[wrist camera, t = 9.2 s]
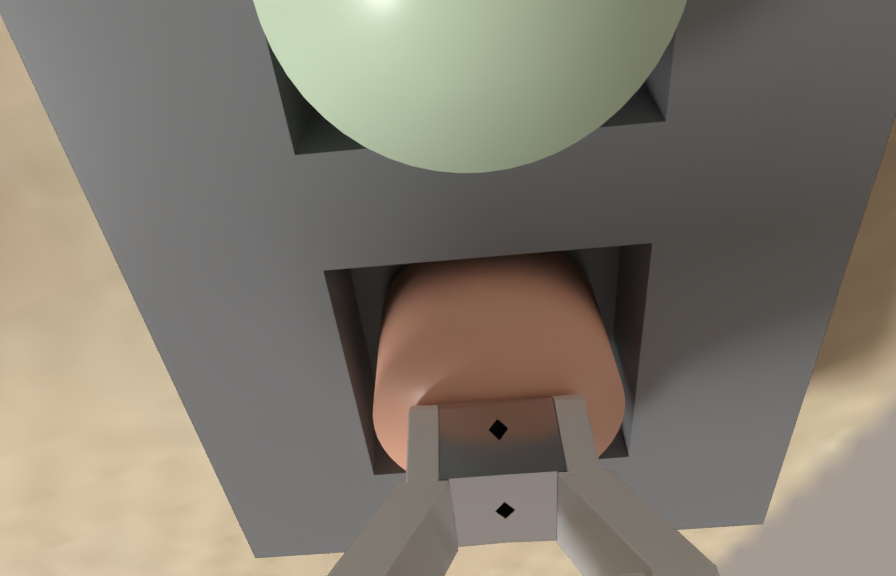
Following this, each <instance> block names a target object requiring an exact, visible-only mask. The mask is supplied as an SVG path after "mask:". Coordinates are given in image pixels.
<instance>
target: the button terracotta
mask: <svg viewBox="0 0 896 576" xmlns="http://www.w3.org/2000/svg"><path fill="white" fill-rule="evenodd" d="M570 394H581V395H582V396H583V397H584V400H585V404H586V408H587V413H588V417H589V421H590V425H591V429H592V433H593V437H594V441H595V445H596V449H597V454H598V457H599V456H600V455H601V454H602V453H603V452H604V451H605V450H606V449H607V447H608V446H609V445H610V444H611V442H612V441H613V439H614V438H615V436H616V434H617V433H618V431H619V428H620V426H621V423H622V421H623V416H624V411H625V395H624V390H623V385H622V382H621V378H620V375H619V372H618V369H617V365H616V362H615V359H614V356H613V352H612V349H611V346H610V343H609V340H608V336H607V333H606V330H605V327H604V323H603V320H602V317H601V314H600V310H599V307H598V304H597V301H596V297H595V294H594V291H593V289H592V286H591V283H590V281H589V279H588V278H587V276H586V275H585V273H584V271H583V270H582V269H581V268H580V267H579V265H578V264H577V263H576V262H575V261H574V260H573V259H572V258H570V257H569V256H568V255H567V254H566V253H564V252H563V251H552V252H540V253H528V254H516V255H504V256H492V257H480V258H468V259H456V260H444V261H432V262H420V263H408V264H407V265H406V266H405V267H404V268H403V269H402V270H401V271H400V273H399V274H398V275H397V276H396V277H395V279H394V281H393V282H392V284H391V286H390V287H389V289H388V292H387V294H386V297H385V300H384V304H383V308H382V317H381V328H380V338H379V349H378V360H377V371H376V381H375V392H374V403H373V423H374V428H375V431H376V434H377V437H378V439H379V441H380V443H381V445H382V447H383V448H384V450H385V451H386V452H387V454H388V455H389V456H390V457H391V458H392V459H393V460H394V461H395V462H396V463H397V464H398V465H399V466H400V467H402V468H403V469H404V470H406V464H407V439H408V414H409V410H410V406H419V405H439V404H450V403H470V402H491V401H496V400H508V399H520V398H532V397H544V396H551V397H552V396H558V395H570Z"/></svg>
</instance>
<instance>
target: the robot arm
mask: <svg viewBox="0 0 896 576" xmlns="http://www.w3.org/2000/svg"><path fill="white" fill-rule="evenodd" d="M532 541H557V544H558V545H559V546H560V547H561V549H562V550H563V551H564V552H565V554H566V555H567V556H568V558H569V559H570V560H571V561H572V563H573V564H574V565H575V566H576V568H577V569H578V570H579V571H580V573H581V574H582V575H583V576H720V575H719V573H718V570H717V567H716V566H715V565H714V564H713V563H712V562H711V561H710V560H709V559H708V558H707V557H706V556H705V555H703V554H702V553H701V552H700V551H699V550H698V549H697V548H696V547H695V546H694V545H693V544H691V543H690V542H689V541H688V540H687V539H686V538H685V537H684V536H683V535H682V534H680V533H679V532H678V531H677V530H676V529H675V528H674V527H673V526H672V525H671V524H670V523H668V522H667V521H666V520H665V519H664V518H663V517H662V516H661V515H660V514H659V513H657V512H656V511H655V510H654V509H653V508H652V507H651V506H650V505H649V504H648V503H647V502H645V501H644V500H643V499H642V498H641V497H640V496H639V495H638V494H637V493H636V492H635V491H633V490H632V489H631V488H630V487H629V486H628V485H627V484H626V483H625V482H624V481H622V480H621V479H620V478H619V477H618V476H617V475H616V474H615V473H614V472H613V471H612V470H610V469H603V470H601V466H600V462H599V458H598V454H597V449H596V445H595V441H594V437H593V433H592V429H591V425H590V421H589V417H588V413H587V408H586V404H585V400H584V397H583V396H582V395H581V394H570V395H558V396H552V397H551V396H544V397H532V398H520V399H508V400H496V401H491V402H470V403H450V404H439V405H419V406H410V410H409V414H408V439H407V464H406V483H402V484H397V485H396V486H395V488H394V489H393V490H392V492H391V493H390V494H389V496H388V497H387V498H386V499H385V501H384V502H383V503H382V505H381V506H380V507H379V509H378V510H377V511H376V513H375V514H374V515H373V516H372V518H371V519H370V520H369V522H368V523H367V524H366V526H365V527H364V528H363V530H362V531H361V532H360V533H359V535H358V536H357V537H356V539H355V540H354V541H353V543H352V544H351V545H350V547H349V548H348V549H347V550H346V552H345V553H344V554H343V556H342V557H341V558H340V560H339V561H338V562H337V564H336V565H335V566H334V567H333V569H332V570H331V571H330V573H329V574H328V575H327V576H445V574H446V572H447V570H448V568H449V566H450V564H451V563H452V561H453V559H454V557H455V555H456V553H457V552H458V547H464V546H474V545H485V544H496V543H506V542H532Z"/></svg>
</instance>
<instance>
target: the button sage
mask: <svg viewBox="0 0 896 576" xmlns="http://www.w3.org/2000/svg"><path fill="white" fill-rule="evenodd" d="M253 2H254V5H255V8H256V11H257V15H258V18H259V21H260V24H261V26H262V28H263V31H264V33H265V35H266V37H267V40H268V42H269V44H270V46H271V49H272V51H273V52H274V54H275V56H276V57H277V59H278V61H279V62H280V64H281V66H282V68H283V69H284V71H285V73H286V74H287V76H288V77H289V78H290V80H291V81H292V82H293V84H294V85H295V86H296V88H297V89H298V90H299V91H300V93H301V94H302V95H303V97H304V98H305V99H306V100H307V101H308V102H309V103H310V104H311V105H312V106H313V107H314V108H315V109H316V110H317V111H318V112H319V113H320V114H321V115H322V116H323V117H324V118H325V119H326V120H327V121H329V122H330V123H331V124H332V125H334V126H335V127H336V128H337V129H339V130H340V131H341V132H342V133H344V134H345V135H347V136H348V137H350V138H351V139H353V140H355V141H356V142H358V143H359V144H361V145H363V146H364V147H366V148H368V149H370V150H372V151H374V152H376V153H378V154H381V155H383V156H385V157H387V158H389V159H392V160H395V161H398V162H401V163H404V164H407V165H410V166H414V167H419V168H424V169H428V170H433V171H441V172H452V173H484V172H491V171H498V170H505V169H510V168H514V167H518V166H522V165H525V164H529V163H533V162H535V161H538V160H540V159H543V158H545V157H548V156H550V155H553V154H555V153H558V152H559V151H561V150H563V149H565V148H567V147H569V146H571V145H573V144H574V143H576V142H578V141H580V140H581V139H583V138H584V137H586V136H587V135H588V134H590V133H591V132H593V131H594V130H596V129H597V128H599V127H600V126H601V125H603V124H604V123H605V122H606V121H607V120H608V119H609V118H611V117H612V116H613V115H614V114H615V113H616V112H617V111H619V110H620V109H621V108H622V107H623V106H624V105H625V104H626V102H627V101H628V100H629V99H630V98H631V97H632V96H633V95H634V94H635V93H636V92H637V90H638V89H639V88H640V87H641V86H642V84H643V83H644V82H645V80H646V79H647V77H648V76H649V75H650V73H651V72H652V71H653V69H654V68H655V67H656V65H657V64H658V62H659V60H660V58H661V57H662V55H663V53H664V51H665V50H666V48H667V46H668V44H669V43H670V41H671V39H672V37H673V35H674V32H675V30H676V28H677V25H678V23H679V21H680V18H681V16H682V14H683V11H684V8H685V5H686V2H687V0H253Z"/></svg>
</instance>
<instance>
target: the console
mask: <svg viewBox="0 0 896 576" xmlns="http://www.w3.org/2000/svg"><path fill="white" fill-rule="evenodd" d="M0 14H1V16H2V19H3V21H4V23H5V25H6V27H7V29H8V31H9V34H10V36H11V38H12V40H13V42H14V44H15V46H16V48H17V51H18V53H19V55H20V57H21V59H22V61H23V63H24V66H25V68H26V70H27V72H28V74H29V76H30V78H31V80H32V83H33V85H34V87H35V89H36V91H37V93H38V95H39V97H40V100H41V102H42V104H43V106H44V108H45V110H46V112H47V115H48V117H49V119H50V121H51V123H52V125H53V127H54V129H55V132H56V134H57V136H58V138H59V140H60V142H61V144H62V147H63V149H64V151H65V153H66V155H67V157H68V159H69V161H70V164H71V166H72V168H73V170H74V172H75V174H76V176H77V179H78V181H79V183H80V185H81V187H82V189H83V191H84V193H85V196H86V198H87V200H88V202H89V204H90V206H91V208H92V211H93V213H94V215H95V217H96V219H97V221H98V223H99V225H100V228H101V230H102V232H103V234H104V236H105V238H106V240H107V243H108V245H109V247H110V249H111V251H112V253H113V255H114V257H115V260H116V262H117V264H118V266H119V268H120V270H121V272H122V275H123V277H124V279H125V281H126V283H127V285H128V287H129V289H130V292H131V294H132V296H133V298H134V300H135V302H136V304H137V307H138V309H139V311H140V313H141V315H142V317H143V319H144V321H145V324H146V326H147V328H148V330H149V332H150V334H151V336H152V339H153V341H154V343H155V345H156V347H157V349H158V351H159V353H160V356H161V358H162V360H163V362H164V364H165V366H166V368H167V371H168V373H169V375H170V377H171V379H172V381H173V383H174V385H175V388H176V390H177V392H178V394H179V396H180V398H181V400H182V402H183V405H184V407H185V409H186V411H187V413H188V415H189V417H190V420H191V422H192V424H193V426H194V428H195V430H196V432H197V434H198V437H199V439H200V441H201V443H202V445H203V447H204V449H205V452H206V454H207V456H208V458H209V460H210V462H211V464H212V466H213V469H214V471H215V473H216V475H217V477H218V479H219V481H220V484H221V486H222V488H223V490H224V492H225V494H226V496H227V498H228V501H229V503H230V505H231V507H232V509H233V511H234V513H235V516H236V518H237V520H238V522H239V524H240V526H241V528H242V530H243V533H244V535H245V537H246V539H247V541H248V543H249V545H250V548H251V550H252V552H253V554H254V556H255V558H265V557H280V556H295V555H310V554H325V553H339V552H346V550H347V549H348V548H349V547H350V545H351V544H352V543H353V541H354V540H355V539H356V537H357V536H358V535H359V533H360V532H361V531H362V530H363V528H364V527H365V526H366V524H367V523H368V522H369V520H370V519H371V518H372V516H373V515H374V514H375V513H376V511H377V510H378V509H379V507H380V506H381V505H382V503H383V502H384V501H385V499H386V498H387V497H388V496H389V494H390V493H391V492H392V490H393V489H394V488H395V486H396V485H397V484H402V483H406V470H404V469H403V468H402V467H400V466H399V465H398V464H397V463H396V462H395V461H394V460H393V459H392V458H391V457H390V456H389V455H388V454H387V452H386V451H385V450H384V448H383V447H382V445H381V443H380V441H379V439H378V437H377V434H376V431H375V428H374V423H373V403H374V392H375V381H376V371H377V360H378V349H379V338H380V328H381V317H382V308H383V304H384V300H385V297H386V294H387V292H388V289H389V287H390V286H391V284H392V282H393V281H394V279H395V277H396V276H397V275H398V274H399V273H400V271H401V270H402V269H403V268H404V267H405V266H406V265H407V264H408V263H420V262H432V261H444V260H456V259H468V258H480V257H492V256H504V255H516V254H528V253H540V252H552V251H563V252H564V253H566V254H567V255H568V256H569V257H570V258H572V259H573V260H574V261H575V262H576V263H577V264H578V265H579V267H580V268H581V269H582V270H583V271H584V273H585V275H586V276H587V278H588V279H589V281H590V283H591V286H592V289H593V291H594V294H595V297H596V301H597V304H598V307H599V310H600V314H601V317H602V320H603V323H604V327H605V330H606V333H607V336H608V340H609V343H610V346H611V349H612V352H613V356H614V359H615V362H616V365H617V369H618V372H619V375H620V378H621V382H622V385H623V390H624V395H625V411H624V416H623V421H622V423H621V426H620V428H619V431H618V433H617V434H616V436H615V438H614V439H613V441H612V442H611V444H610V445H609V446H608V447H607V449H606V450H605V451H604V452H603V453H602V454H601V455H600V456H599V457H598V458H599V462H600V466H601V470H603V469H610V470H612V471H613V472H614V473H615V474H616V475H617V476H618V477H619V478H620V479H621V480H622V481H624V482H625V483H626V484H627V485H628V486H629V487H630V488H631V489H632V490H633V491H635V492H636V493H637V494H638V495H639V496H640V497H641V498H642V499H643V500H644V501H645V502H647V503H648V504H649V505H650V506H651V507H652V508H653V509H654V510H655V511H656V512H657V513H659V514H660V515H661V516H662V517H663V518H664V519H665V520H666V521H667V522H668V523H670V524H671V525H672V526H673V527H674V528H675V529H676V530H682V529H697V528H712V527H727V526H742V525H757V524H763V523H764V520H765V517H766V513H767V510H768V507H769V504H770V501H771V498H772V495H773V492H774V489H775V486H776V483H777V480H778V476H779V473H780V470H781V467H782V464H783V461H784V458H785V455H786V452H787V449H788V446H789V443H790V439H791V436H792V433H793V430H794V427H795V424H796V421H797V418H798V415H799V412H800V409H801V406H802V402H803V399H804V396H805V393H806V390H807V387H808V384H809V381H810V378H811V375H812V372H813V369H814V365H815V362H816V359H817V356H818V353H819V350H820V347H821V344H822V341H823V338H824V335H825V332H826V328H827V325H828V322H829V319H830V316H831V313H832V310H833V307H834V304H835V301H836V298H837V295H838V291H839V288H840V285H841V282H842V279H843V276H844V273H845V270H846V267H847V264H848V261H849V258H850V254H851V251H852V248H853V245H854V242H855V239H856V236H857V233H858V230H859V227H860V224H861V221H862V217H863V214H864V211H865V208H866V205H867V202H868V199H869V196H870V193H871V190H872V187H873V184H874V180H875V177H876V174H877V171H878V168H879V165H880V162H881V159H882V156H883V153H884V150H885V147H886V143H887V140H888V137H889V134H890V131H891V128H892V125H893V122H894V119H895V116H896V0H687V2H686V5H685V8H684V11H683V14H682V16H681V18H680V21H679V23H678V25H677V28H676V30H675V32H674V35H673V37H672V39H671V41H670V43H669V44H668V46H667V48H666V50H665V51H664V53H663V55H662V57H661V58H660V60H659V62H658V64H657V65H656V67H655V68H654V69H653V71H652V72H651V73H650V75H649V76H648V77H647V79H646V80H645V82H644V83H643V84H642V86H641V87H640V88H639V89H638V90H637V92H636V93H635V94H634V95H633V96H632V97H631V98H630V99H629V100H628V101H627V102H626V104H625V105H624V106H623V107H622V108H621V109H620V110H619V111H617V112H616V113H615V114H614V115H613V116H612V117H611V118H609V119H608V120H607V121H606V122H605V123H604V124H603V125H601V126H600V127H599V128H597V129H596V130H594V131H593V132H591V133H590V134H588V135H587V136H586V137H584V138H583V139H581V140H580V141H578V142H576V143H574V144H573V145H571V146H569V147H567V148H565V149H563V150H561V151H559V152H558V153H555V154H553V155H550V156H548V157H545V158H543V159H540V160H538V161H535V162H533V163H529V164H525V165H522V166H518V167H514V168H510V169H505V170H498V171H491V172H484V173H452V172H441V171H433V170H428V169H424V168H419V167H414V166H410V165H407V164H404V163H401V162H398V161H395V160H392V159H389V158H387V157H385V156H383V155H381V154H378V153H376V152H374V151H372V150H370V149H368V148H366V147H364V146H363V145H361V144H359V143H358V142H356V141H355V140H353V139H351V138H350V137H348V136H347V135H345V134H344V133H342V132H341V131H340V130H339V129H337V128H336V127H335V126H334V125H332V124H331V123H330V122H329V121H327V120H326V119H325V118H324V117H323V116H322V115H321V114H320V113H319V112H318V111H317V110H316V109H315V108H314V107H313V106H312V105H311V104H310V103H309V102H308V101H307V100H306V99H305V98H304V97H303V95H302V94H301V93H300V91H299V90H298V89H297V88H296V86H295V85H294V84H293V82H292V81H291V80H290V78H289V77H288V76H287V74H286V73H285V71H284V69H283V68H282V66H281V64H280V62H279V61H278V59H277V57H276V56H275V54H274V52H273V51H272V49H271V46H270V44H269V42H268V40H267V37H266V35H265V33H264V31H263V28H262V26H261V24H260V21H259V18H258V15H257V11H256V8H255V5H254V2H253V0H0Z"/></svg>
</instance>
